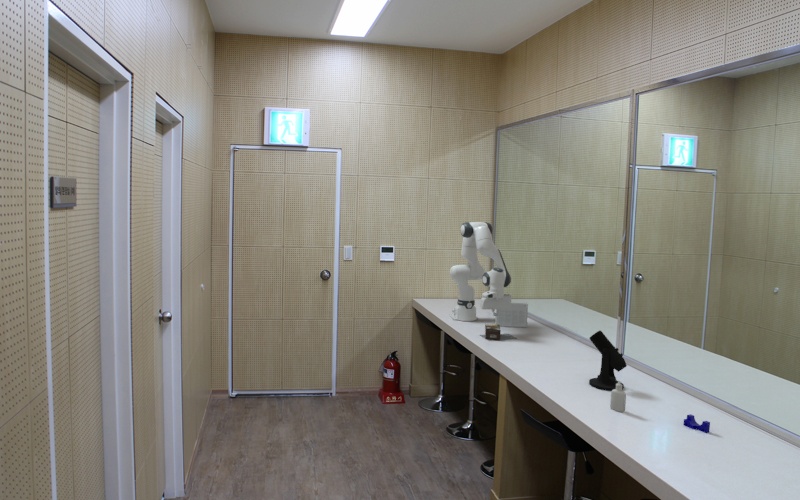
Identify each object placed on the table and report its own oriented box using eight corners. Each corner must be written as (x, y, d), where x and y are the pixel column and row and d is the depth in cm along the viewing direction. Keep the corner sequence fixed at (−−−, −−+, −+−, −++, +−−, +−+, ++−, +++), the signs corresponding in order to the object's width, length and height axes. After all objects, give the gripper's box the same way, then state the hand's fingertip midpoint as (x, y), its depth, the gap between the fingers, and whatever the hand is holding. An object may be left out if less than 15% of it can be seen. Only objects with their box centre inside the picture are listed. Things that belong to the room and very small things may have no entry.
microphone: (592, 377, 259) (596, 326, 257) (630, 386, 249) (633, 332, 246) (581, 384, 248) (584, 331, 246) (619, 394, 237) (623, 338, 235)
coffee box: (484, 332, 342) (484, 339, 326) (485, 322, 342) (485, 328, 326) (499, 333, 341) (500, 340, 325) (499, 324, 340) (500, 329, 324)
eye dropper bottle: (618, 407, 221) (620, 378, 220) (626, 412, 216) (628, 383, 215) (608, 407, 221) (610, 379, 220) (616, 412, 215) (618, 383, 214)
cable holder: (683, 425, 205) (684, 415, 205) (689, 424, 206) (690, 414, 206) (702, 434, 198) (703, 423, 197) (709, 432, 199) (710, 422, 199)
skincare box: (526, 326, 368) (527, 302, 366) (527, 327, 362) (528, 304, 361) (494, 324, 370) (495, 301, 368) (495, 326, 364) (496, 302, 363)
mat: (479, 335, 336) (479, 335, 336) (508, 334, 342) (508, 333, 342) (487, 339, 326) (487, 339, 326) (517, 338, 331) (517, 338, 331)
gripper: (509, 293, 342) (508, 314, 344) (479, 293, 337) (478, 315, 338) (514, 294, 336) (512, 316, 338) (484, 295, 331) (483, 317, 332)
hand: (495, 316), depth 338 cm, fingers closed
